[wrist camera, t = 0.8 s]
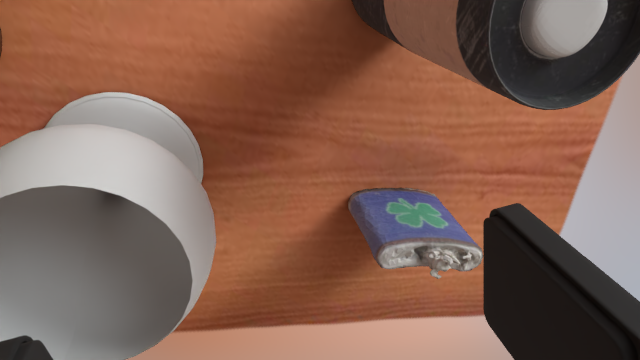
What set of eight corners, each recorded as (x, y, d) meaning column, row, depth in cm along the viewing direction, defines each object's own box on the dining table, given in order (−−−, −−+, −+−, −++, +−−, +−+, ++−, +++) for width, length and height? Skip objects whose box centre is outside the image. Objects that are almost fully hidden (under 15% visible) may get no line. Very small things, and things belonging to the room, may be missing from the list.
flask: (344, 212, 43) (382, 285, 34) (350, 184, 42) (391, 251, 33) (434, 216, 46) (493, 285, 36) (442, 189, 44) (505, 254, 35)
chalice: (185, 256, 42) (174, 397, 29) (9, 217, 37) (-102, 365, 24) (238, 114, 37) (253, 206, 24) (45, 48, 32) (-69, 117, 19)
